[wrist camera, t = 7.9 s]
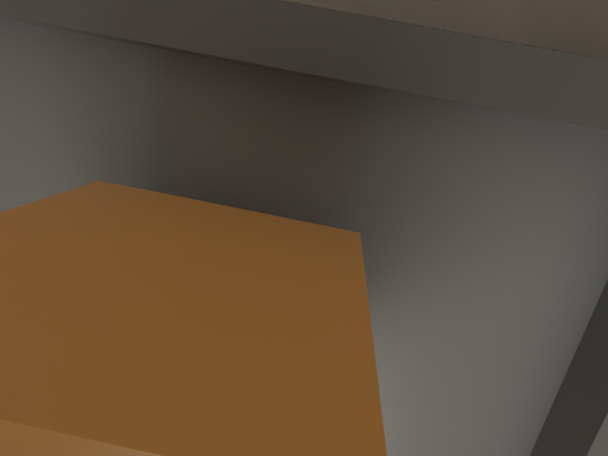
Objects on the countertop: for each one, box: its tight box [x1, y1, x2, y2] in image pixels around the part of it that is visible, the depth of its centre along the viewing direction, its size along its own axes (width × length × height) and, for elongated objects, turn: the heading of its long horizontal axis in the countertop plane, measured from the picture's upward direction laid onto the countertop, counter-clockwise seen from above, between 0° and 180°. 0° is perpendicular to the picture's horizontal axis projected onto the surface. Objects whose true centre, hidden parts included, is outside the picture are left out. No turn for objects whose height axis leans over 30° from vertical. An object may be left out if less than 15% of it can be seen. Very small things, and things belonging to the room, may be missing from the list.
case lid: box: [0, 0, 608, 456], centre depth 10 cm, size 18×15×2 cm
